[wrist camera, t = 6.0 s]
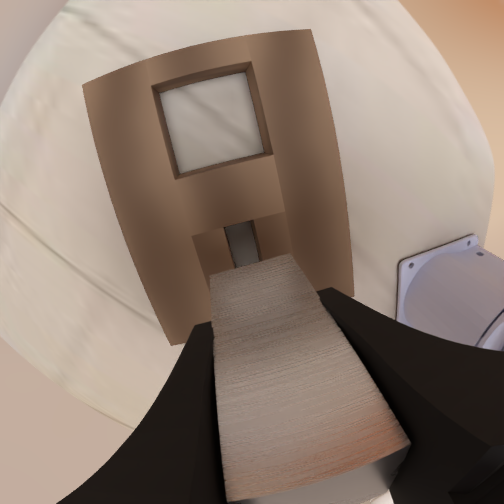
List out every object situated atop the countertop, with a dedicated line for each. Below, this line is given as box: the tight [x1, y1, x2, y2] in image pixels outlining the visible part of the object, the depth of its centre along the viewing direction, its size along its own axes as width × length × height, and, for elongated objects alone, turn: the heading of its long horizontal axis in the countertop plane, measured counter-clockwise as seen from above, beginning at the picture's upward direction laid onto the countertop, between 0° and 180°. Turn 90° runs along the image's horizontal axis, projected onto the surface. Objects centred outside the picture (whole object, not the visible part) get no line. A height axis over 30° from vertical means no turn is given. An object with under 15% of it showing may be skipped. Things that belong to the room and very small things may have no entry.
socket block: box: [82, 29, 354, 346], centre depth 16 cm, size 12×16×2 cm
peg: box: [210, 253, 411, 504], centre depth 8 cm, size 3×3×8 cm
